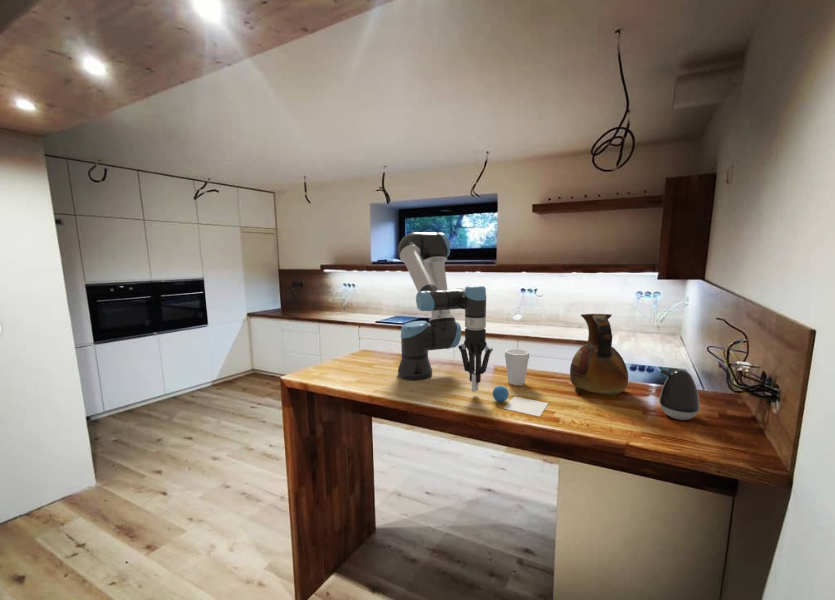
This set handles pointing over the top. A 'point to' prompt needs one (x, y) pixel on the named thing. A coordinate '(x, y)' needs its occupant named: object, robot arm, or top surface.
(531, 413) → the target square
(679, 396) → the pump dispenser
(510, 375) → the foam cup
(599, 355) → the ceramic pitcher
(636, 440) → the top surface
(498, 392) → the ball
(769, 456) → the top surface
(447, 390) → the top surface
